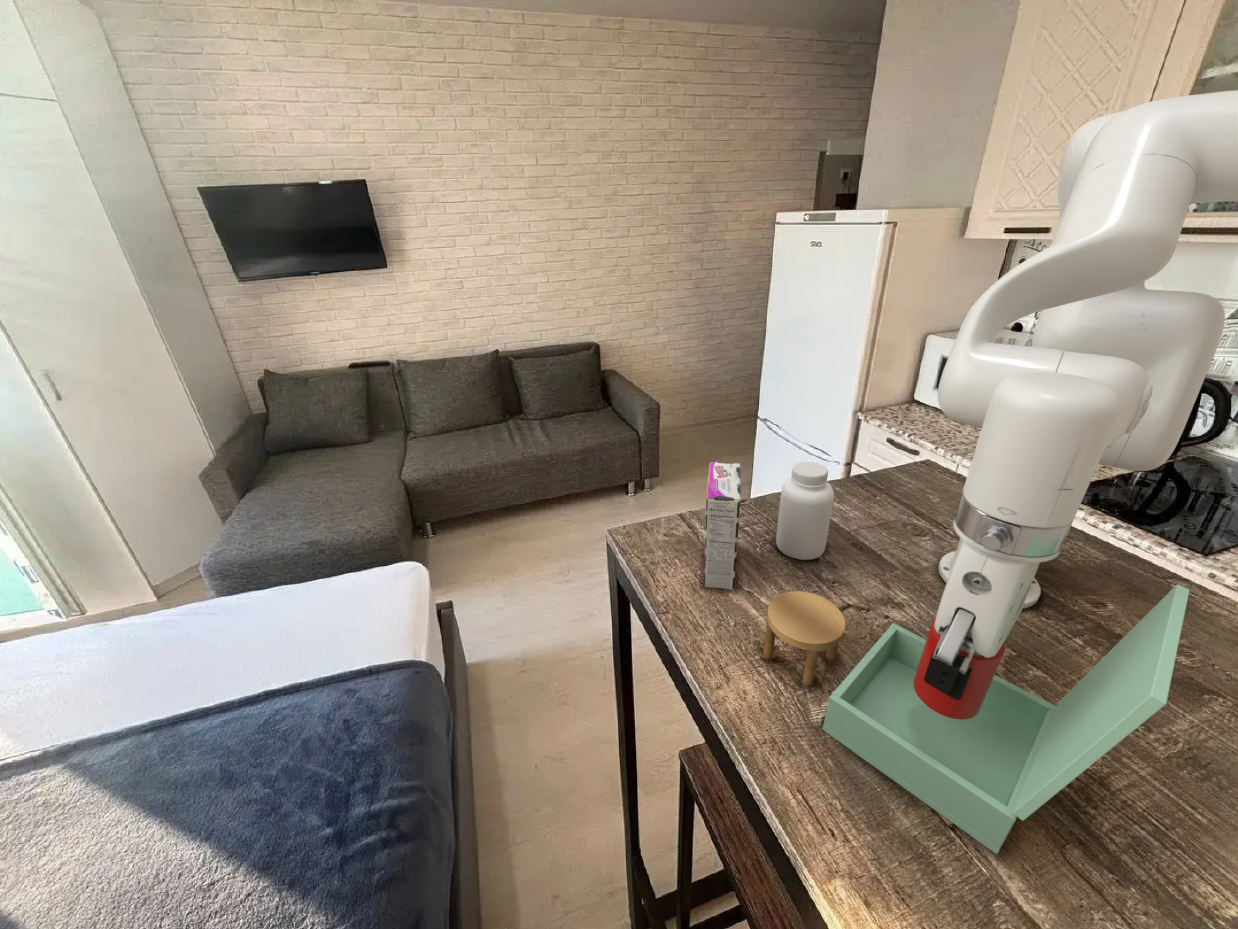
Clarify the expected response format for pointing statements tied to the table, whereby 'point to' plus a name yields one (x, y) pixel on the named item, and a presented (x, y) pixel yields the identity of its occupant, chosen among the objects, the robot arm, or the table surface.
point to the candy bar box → (722, 525)
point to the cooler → (940, 738)
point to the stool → (804, 627)
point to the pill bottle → (805, 512)
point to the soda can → (974, 689)
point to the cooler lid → (1107, 702)
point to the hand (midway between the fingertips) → (955, 668)
